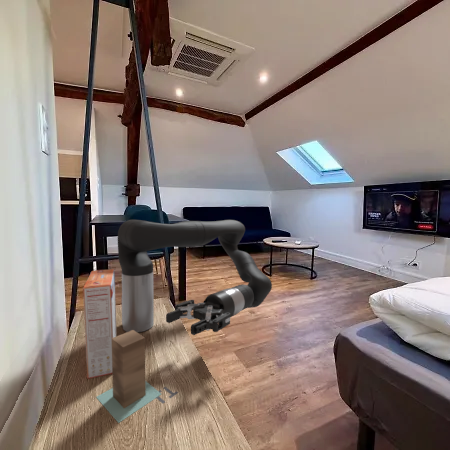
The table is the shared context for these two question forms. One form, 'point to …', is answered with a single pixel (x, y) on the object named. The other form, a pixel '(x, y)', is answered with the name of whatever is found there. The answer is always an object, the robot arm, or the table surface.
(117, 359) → the walnut block
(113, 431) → the table surface
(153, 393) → the felt mat
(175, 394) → the code marks
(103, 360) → the cracker box
